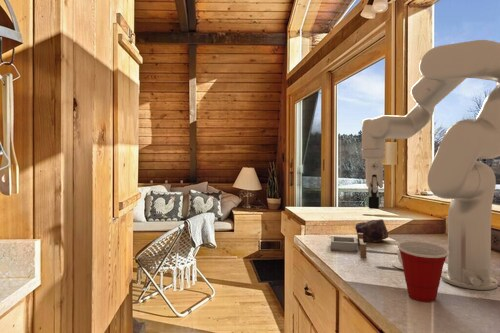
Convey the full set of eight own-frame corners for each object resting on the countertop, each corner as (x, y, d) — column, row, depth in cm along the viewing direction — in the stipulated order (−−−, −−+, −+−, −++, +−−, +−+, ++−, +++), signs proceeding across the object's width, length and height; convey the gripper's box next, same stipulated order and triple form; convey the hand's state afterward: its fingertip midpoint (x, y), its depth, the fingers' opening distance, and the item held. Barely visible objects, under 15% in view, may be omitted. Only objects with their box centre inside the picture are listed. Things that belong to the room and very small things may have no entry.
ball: (381, 209, 119) (381, 194, 119) (365, 209, 120) (365, 194, 120) (379, 207, 124) (380, 193, 124) (364, 206, 125) (365, 192, 125)
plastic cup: (412, 308, 77) (413, 253, 76) (388, 290, 87) (389, 241, 87) (460, 306, 77) (460, 251, 77) (431, 288, 88) (431, 240, 88)
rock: (358, 241, 144) (357, 246, 134) (355, 220, 144) (354, 223, 135) (389, 238, 140) (390, 243, 131) (385, 216, 141) (386, 220, 131)
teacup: (434, 273, 100) (434, 257, 100) (396, 271, 102) (397, 255, 102) (422, 263, 110) (423, 248, 110) (389, 261, 112) (389, 246, 111)
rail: (366, 257, 115) (366, 244, 115) (360, 257, 116) (360, 244, 115) (362, 245, 132) (362, 233, 132) (357, 244, 133) (357, 233, 132)
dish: (357, 251, 123) (357, 243, 123) (330, 250, 125) (330, 241, 125) (356, 245, 131) (356, 237, 131) (331, 244, 134) (331, 236, 134)
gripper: (388, 154, 112) (387, 211, 113) (382, 154, 129) (381, 204, 129) (363, 154, 114) (362, 210, 115) (360, 154, 131) (360, 203, 131)
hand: (373, 206), depth 122 cm, fingers closed on ball, 4 cm apart
